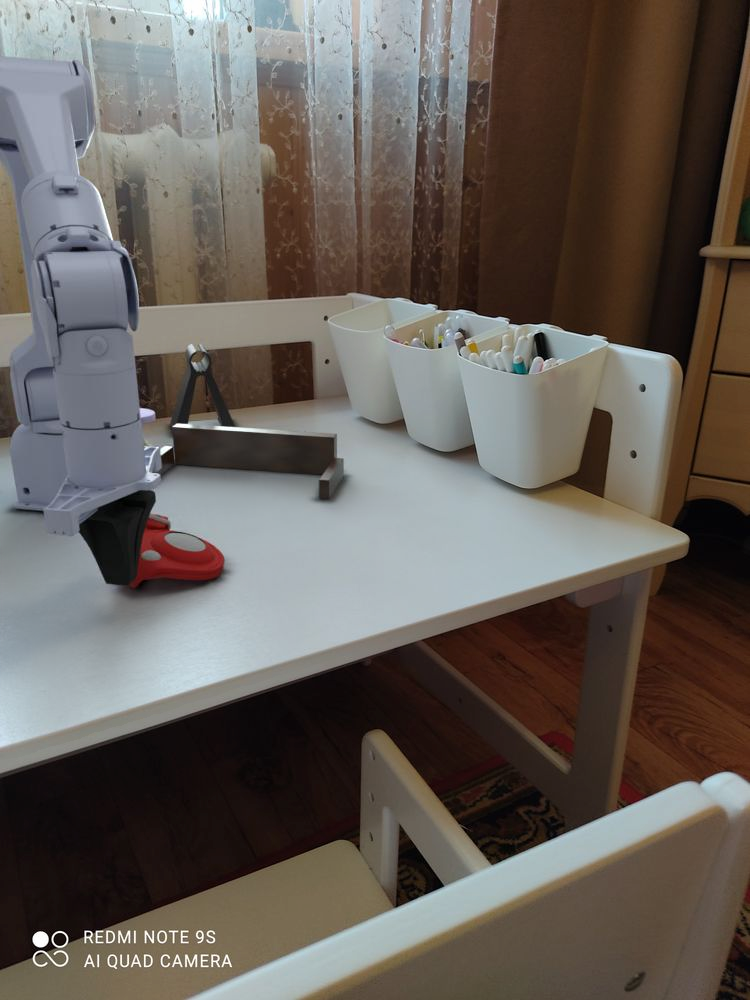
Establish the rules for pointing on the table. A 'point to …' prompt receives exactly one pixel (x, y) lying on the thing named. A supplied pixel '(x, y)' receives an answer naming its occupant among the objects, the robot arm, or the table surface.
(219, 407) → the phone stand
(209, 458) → the footed wooden plank
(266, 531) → the table surface
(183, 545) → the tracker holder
